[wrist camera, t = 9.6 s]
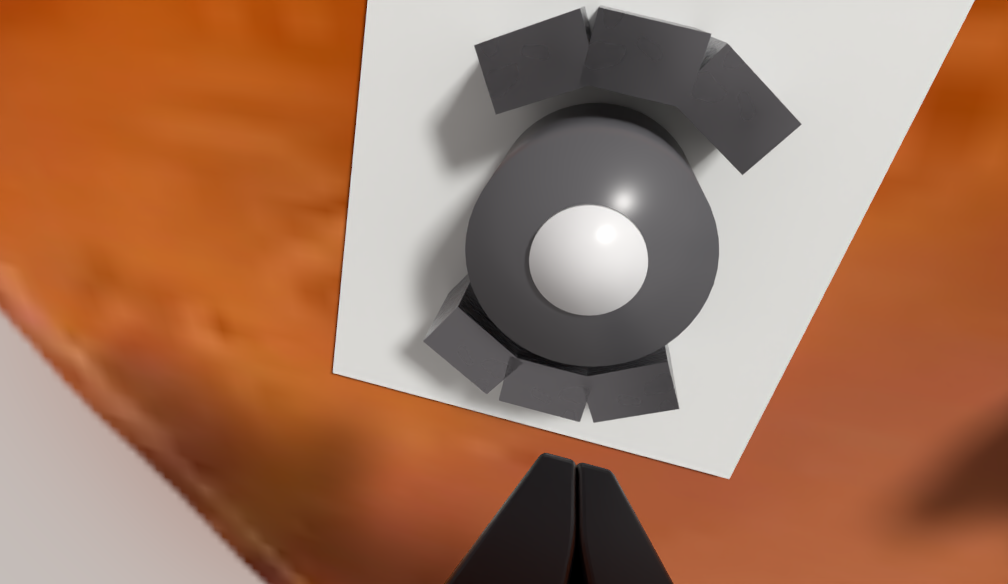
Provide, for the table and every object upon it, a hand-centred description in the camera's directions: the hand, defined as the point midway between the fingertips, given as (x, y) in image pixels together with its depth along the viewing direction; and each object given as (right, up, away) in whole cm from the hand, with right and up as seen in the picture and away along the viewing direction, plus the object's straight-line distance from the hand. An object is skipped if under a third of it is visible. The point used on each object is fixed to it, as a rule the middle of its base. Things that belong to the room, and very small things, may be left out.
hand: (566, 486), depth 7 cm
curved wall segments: (+2, +5, +10) cm, 11 cm away
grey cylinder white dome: (+2, +5, +10) cm, 11 cm away
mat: (+2, +5, +10) cm, 12 cm away
